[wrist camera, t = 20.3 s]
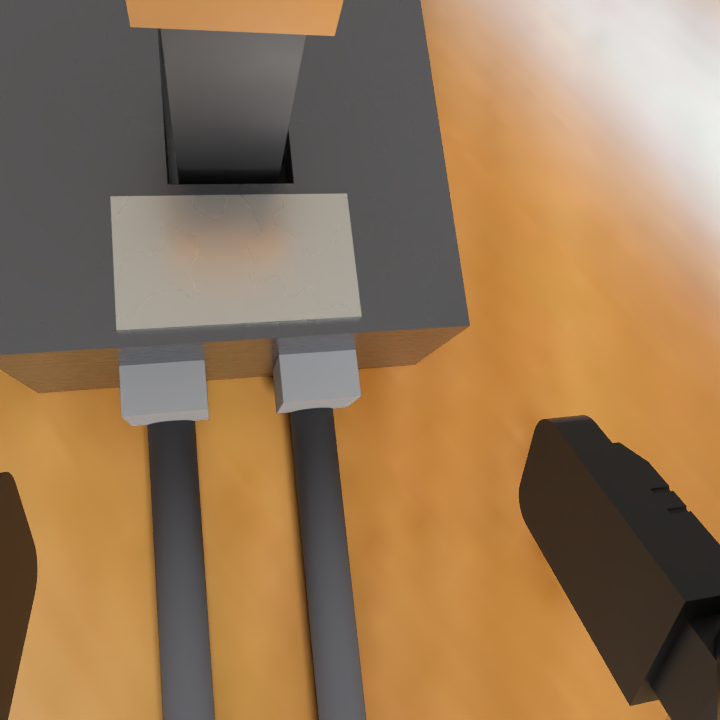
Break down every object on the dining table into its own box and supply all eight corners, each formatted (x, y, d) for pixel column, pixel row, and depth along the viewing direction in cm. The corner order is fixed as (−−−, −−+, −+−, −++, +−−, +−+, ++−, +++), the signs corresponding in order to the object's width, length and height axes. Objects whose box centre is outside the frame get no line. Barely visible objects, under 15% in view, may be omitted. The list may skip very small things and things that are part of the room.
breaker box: (26, -164, 28) (-26, -347, 22) (348, -131, 31) (379, -282, 25) (38, 393, 23) (-24, 354, 17) (414, 364, 26) (472, 324, 20)
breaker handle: (161, 138, 24) (99, -269, 12) (278, 139, 26) (341, -235, 13) (167, 228, 24) (108, -99, 11) (287, 225, 25) (362, -77, 12)
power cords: (133, 386, 24) (119, 366, 20) (337, 370, 26) (355, 349, 22) (153, 796, 21) (141, 852, 18) (378, 748, 23) (407, 791, 20)
